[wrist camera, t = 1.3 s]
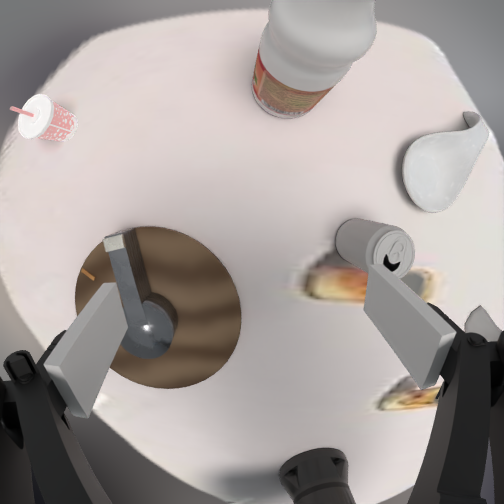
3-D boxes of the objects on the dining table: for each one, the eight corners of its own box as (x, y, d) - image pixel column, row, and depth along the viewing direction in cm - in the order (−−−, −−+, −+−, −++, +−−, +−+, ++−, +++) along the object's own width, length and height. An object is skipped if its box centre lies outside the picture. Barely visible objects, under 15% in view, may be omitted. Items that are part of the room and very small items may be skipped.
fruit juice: (272, 131, 38) (349, 20, 10) (238, 77, 36) (253, -74, 8) (328, 104, 37) (451, 7, 10) (295, 53, 35) (367, -80, 8)
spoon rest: (418, 225, 42) (445, 231, 35) (378, 166, 40) (403, 162, 33) (482, 146, 40) (508, 144, 33) (451, 94, 38) (476, 85, 31)
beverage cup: (64, 103, 34) (13, 77, 20) (88, 117, 35) (37, 92, 21) (45, 136, 35) (-12, 122, 21) (68, 153, 36) (11, 141, 22)
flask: (488, 320, 47) (517, 337, 37) (468, 344, 48) (496, 364, 38) (481, 299, 46) (513, 315, 36) (460, 324, 46) (491, 344, 36)
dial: (184, 338, 41) (178, 357, 35) (135, 345, 41) (124, 363, 35) (153, 223, 38) (141, 227, 32) (102, 236, 37) (84, 242, 32)
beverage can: (326, 250, 41) (361, 271, 29) (345, 210, 40) (386, 216, 29) (361, 267, 42) (402, 292, 30) (379, 229, 41) (425, 242, 29)
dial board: (256, 372, 44) (256, 376, 43) (111, 390, 43) (109, 393, 42) (219, 208, 39) (219, 208, 38) (59, 247, 38) (55, 249, 37)
